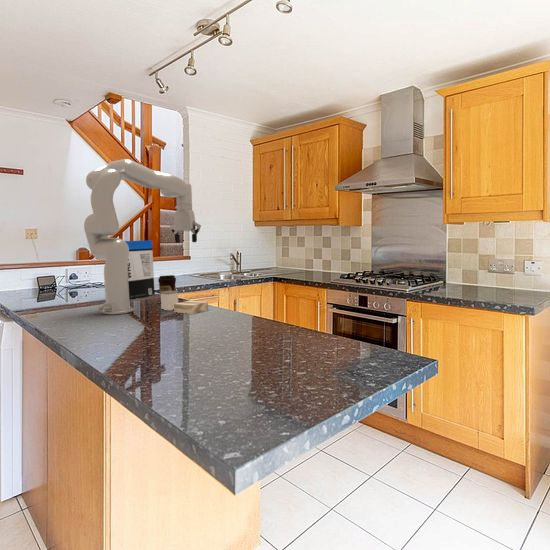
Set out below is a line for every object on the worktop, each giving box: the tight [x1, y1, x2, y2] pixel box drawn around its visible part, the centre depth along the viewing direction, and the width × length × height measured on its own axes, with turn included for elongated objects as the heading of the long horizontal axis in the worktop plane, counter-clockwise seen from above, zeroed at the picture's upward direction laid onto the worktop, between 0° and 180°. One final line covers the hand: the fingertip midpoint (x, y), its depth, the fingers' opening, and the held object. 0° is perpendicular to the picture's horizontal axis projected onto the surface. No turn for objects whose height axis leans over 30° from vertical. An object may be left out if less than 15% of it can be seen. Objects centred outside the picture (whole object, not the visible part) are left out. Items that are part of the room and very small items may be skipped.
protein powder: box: [124, 239, 156, 300], centre depth 219 cm, size 10×24×30 cm, turn 148°
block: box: [173, 300, 209, 315], centre depth 176 cm, size 10×10×4 cm
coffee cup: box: [157, 274, 177, 297], centre depth 202 cm, size 9×8×13 cm
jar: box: [159, 290, 179, 311], centre depth 182 cm, size 5×5×8 cm
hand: (185, 242), depth 209 cm, fingers open, 9 cm apart
